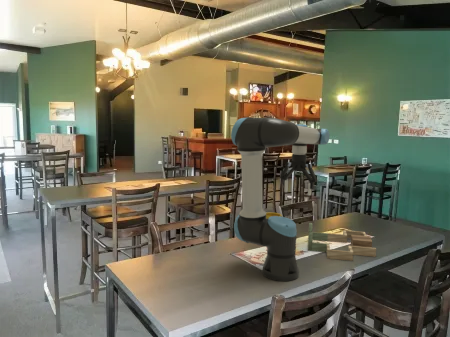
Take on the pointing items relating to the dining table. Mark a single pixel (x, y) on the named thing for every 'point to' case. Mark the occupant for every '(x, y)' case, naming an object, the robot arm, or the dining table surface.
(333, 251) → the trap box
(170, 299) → the dining table surface
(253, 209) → the robot arm
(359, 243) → the block
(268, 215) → the plant pot
